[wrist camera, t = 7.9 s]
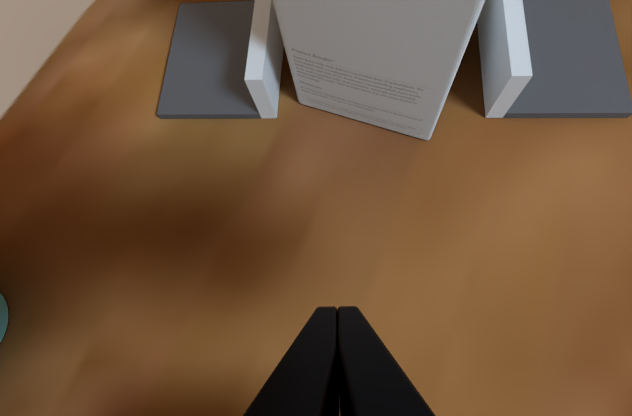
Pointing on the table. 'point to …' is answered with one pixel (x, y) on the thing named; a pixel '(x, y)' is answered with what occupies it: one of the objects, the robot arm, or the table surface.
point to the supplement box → (377, 57)
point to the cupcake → (3, 316)
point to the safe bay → (494, 44)
